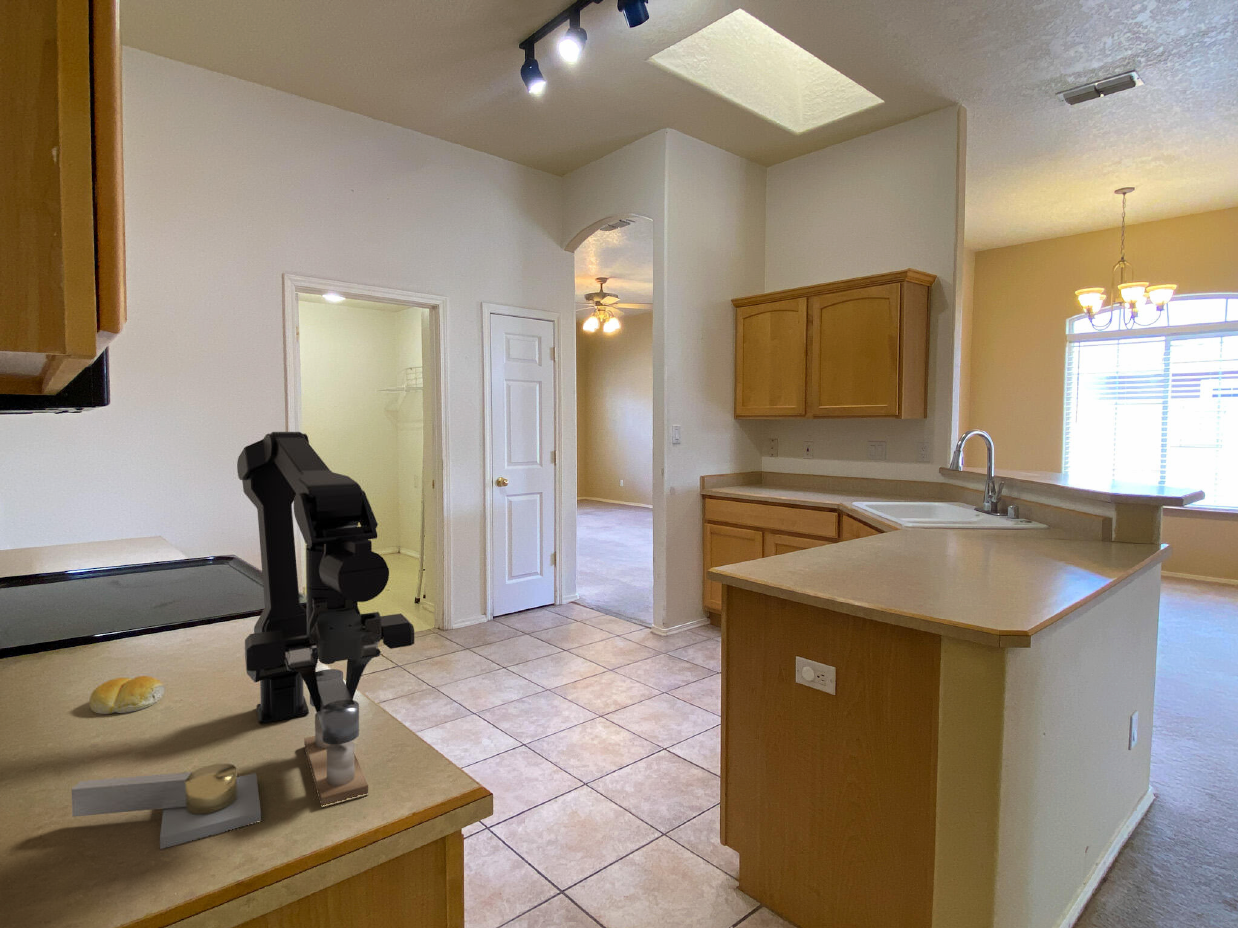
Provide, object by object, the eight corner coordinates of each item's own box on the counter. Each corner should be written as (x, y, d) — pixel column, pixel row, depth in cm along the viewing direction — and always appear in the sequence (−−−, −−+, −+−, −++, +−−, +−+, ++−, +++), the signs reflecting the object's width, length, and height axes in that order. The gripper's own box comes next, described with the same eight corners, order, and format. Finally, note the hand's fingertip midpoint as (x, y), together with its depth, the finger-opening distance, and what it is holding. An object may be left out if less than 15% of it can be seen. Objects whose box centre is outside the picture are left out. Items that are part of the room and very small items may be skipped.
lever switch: (243, 786, 76) (242, 760, 75) (227, 811, 71) (226, 783, 71) (90, 800, 72) (89, 773, 72) (63, 826, 68) (62, 797, 68)
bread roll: (110, 694, 103) (110, 669, 103) (172, 692, 105) (171, 668, 104) (74, 718, 95) (73, 691, 95) (141, 715, 96) (140, 689, 96)
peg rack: (304, 746, 88) (303, 708, 87) (344, 737, 90) (344, 700, 90) (321, 807, 74) (321, 763, 74) (368, 795, 77) (367, 752, 76)
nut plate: (165, 804, 74) (165, 794, 74) (256, 782, 79) (255, 772, 79) (160, 849, 67) (159, 837, 67) (261, 821, 71) (260, 811, 71)
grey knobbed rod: (362, 739, 77) (361, 709, 76) (324, 747, 74) (324, 717, 74) (340, 692, 89) (340, 666, 89) (308, 698, 87) (307, 672, 87)
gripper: (247, 611, 69) (250, 755, 70) (426, 590, 79) (426, 716, 80) (243, 587, 78) (245, 714, 80) (403, 570, 88) (403, 683, 89)
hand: (333, 707), depth 82 cm, fingers closed on grey knobbed rod, 3 cm apart
